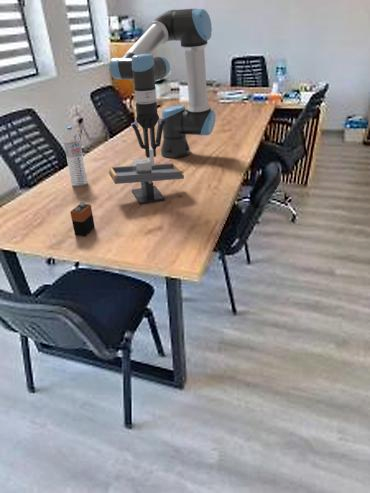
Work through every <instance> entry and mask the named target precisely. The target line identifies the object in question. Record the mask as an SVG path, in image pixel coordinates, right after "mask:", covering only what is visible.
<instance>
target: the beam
mask: <svg viewBox="0 0 370 493" xmlns="http://www.w3.org/2000/svg"><path fill="white" fill-rule="evenodd" d="M154 165H155V166H152V173H142V174H134V173H133V165H123V166H121V165H120V166H112V167H109V171H108V173H109V176H110V177H111V180H112V181H113V183H114V185H118V184H121V185H122V184H132V183H133V184H134V183H141V182H148V183H149V184H151V183H152V182H158V181H159V182H160V181H171V180H183V179H185V175H183V174H184V171H183V169H182V168H181V167H179V165H178V164H176V163H173V162H170V163H169V162H168V163H156V164H155V163H154ZM151 181H152V182H151Z"/></svg>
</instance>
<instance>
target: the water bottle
mask: <svg viewBox="0 0 370 493" xmlns="http://www.w3.org/2000/svg"><path fill="white" fill-rule="evenodd" d="M66 129H67V131H66V132H65V133H64V135H63V136H62V141H63V144H64V149H65V154H66V162H67V168H68V172H69V176H70V181H71V184H72V186H73V187H76V188H80V187H84V186H87V184H88V177H87V172H86V166H85V160H84V155H83V151H82V144H81V137H80V135H79V134H78V133H77V132H76V131H75V130H73V128H72V126H67V127H66Z"/></svg>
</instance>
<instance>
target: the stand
mask: <svg viewBox="0 0 370 493" xmlns="http://www.w3.org/2000/svg"><path fill="white" fill-rule="evenodd" d="M151 182H152V183H151V184H149V183H148V182H140V186H141V187H140V188H135V189H134V188H133V189H131V193H132V194H133V196H134V197H135V199H136V200H137V202H138V204H139V205H140V206H143V205H149V204H156V203H160V202H165V201H166V197H165V196H164V195H163V194H162V192H161V191H160V190H159V189H158V187H157V186H156V185H154V181H151Z"/></svg>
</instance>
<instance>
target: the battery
mask: <svg viewBox="0 0 370 493" xmlns="http://www.w3.org/2000/svg"><path fill="white" fill-rule="evenodd" d="M70 217H71V222H72V226H73V231H74V235H75V236H79V237H87V236H88V235H89V234H90V233H92V231H93V230H95V221H94V216H93V209H92V206H91V204H90V203H89V204H88V203H86V202H85V201H82V202H80V203H79V204H78V205H76V206H75V207H74V208H73V209H72V210H71V211H70Z"/></svg>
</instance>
